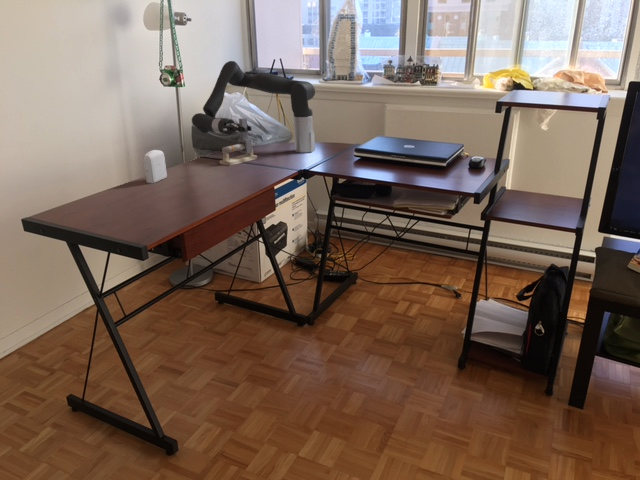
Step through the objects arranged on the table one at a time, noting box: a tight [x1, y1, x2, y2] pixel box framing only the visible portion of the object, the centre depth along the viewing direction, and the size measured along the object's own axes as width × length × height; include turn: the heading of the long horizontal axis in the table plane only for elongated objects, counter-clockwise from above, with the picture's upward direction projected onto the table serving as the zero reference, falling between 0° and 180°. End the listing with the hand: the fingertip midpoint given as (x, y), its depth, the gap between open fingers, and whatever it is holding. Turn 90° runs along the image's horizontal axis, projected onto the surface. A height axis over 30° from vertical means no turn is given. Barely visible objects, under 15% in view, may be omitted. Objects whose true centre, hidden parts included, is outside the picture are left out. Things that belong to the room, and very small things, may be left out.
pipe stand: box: [219, 141, 258, 166], centre depth 252 cm, size 17×7×8 cm, turn 140°
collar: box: [237, 117, 253, 154], centre depth 253 cm, size 3×6×16 cm, turn 50°
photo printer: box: [142, 149, 168, 184], centre depth 222 cm, size 10×4×12 cm, turn 160°
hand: (247, 129), depth 250 cm, fingers closed on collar, 3 cm apart
